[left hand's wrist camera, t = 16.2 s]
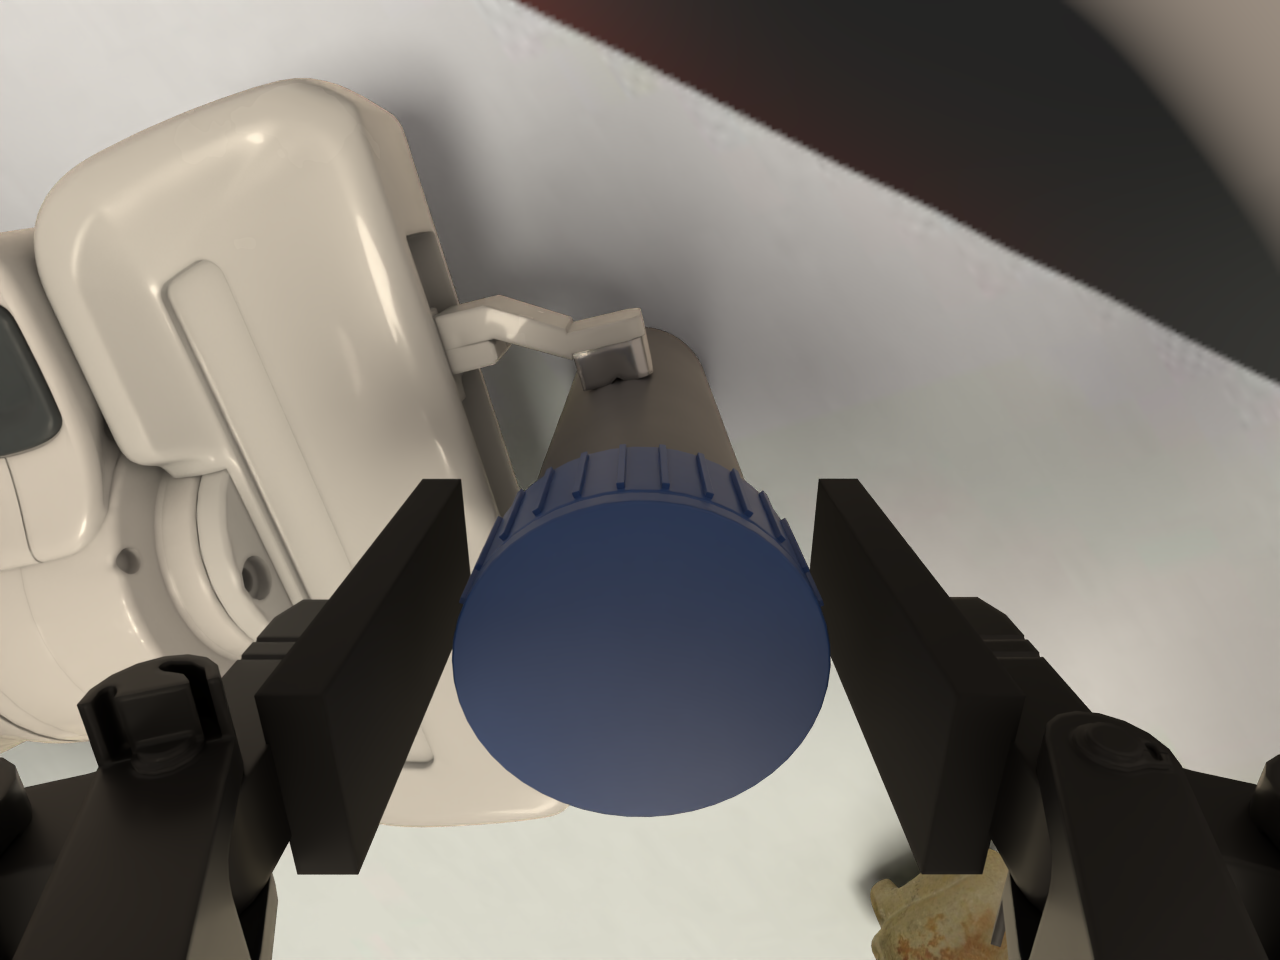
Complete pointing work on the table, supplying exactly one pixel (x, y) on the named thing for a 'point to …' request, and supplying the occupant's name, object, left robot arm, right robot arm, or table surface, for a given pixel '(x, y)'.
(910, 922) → the sculpture
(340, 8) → the table surface
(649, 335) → the jar
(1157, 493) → the table surface
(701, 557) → the lid
